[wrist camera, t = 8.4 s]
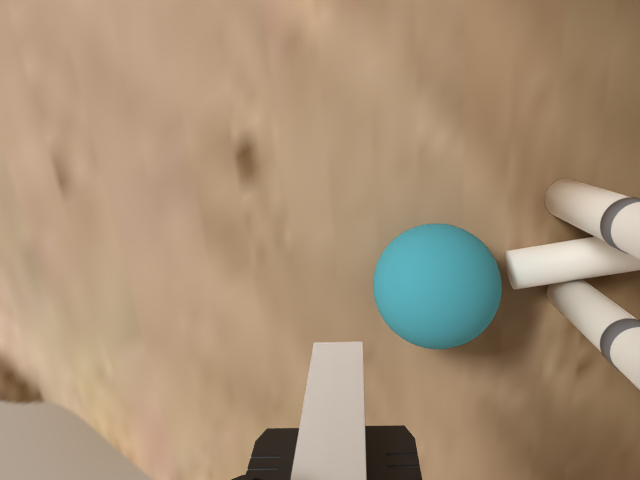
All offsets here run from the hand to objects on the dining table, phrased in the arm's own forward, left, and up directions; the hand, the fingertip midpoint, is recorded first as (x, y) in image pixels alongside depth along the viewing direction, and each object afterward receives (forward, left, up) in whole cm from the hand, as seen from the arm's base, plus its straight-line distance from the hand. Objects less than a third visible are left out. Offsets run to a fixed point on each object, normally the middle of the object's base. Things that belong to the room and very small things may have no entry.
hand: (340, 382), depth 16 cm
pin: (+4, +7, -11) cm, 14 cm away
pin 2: (+7, +9, -12) cm, 17 cm away
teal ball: (+2, +4, -9) cm, 10 cm away
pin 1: (+3, +11, -12) cm, 17 cm away
